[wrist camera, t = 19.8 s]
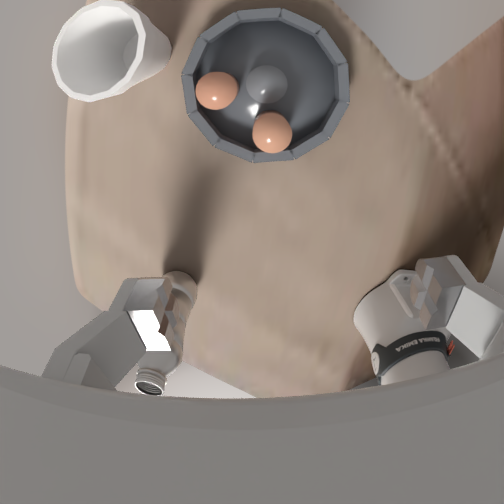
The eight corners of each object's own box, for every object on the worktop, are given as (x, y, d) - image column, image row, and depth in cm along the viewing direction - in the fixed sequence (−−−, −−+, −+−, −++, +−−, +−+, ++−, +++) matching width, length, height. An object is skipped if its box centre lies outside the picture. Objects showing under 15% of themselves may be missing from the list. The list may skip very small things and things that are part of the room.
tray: (336, 13, 25) (342, 9, 22) (343, 151, 35) (350, 158, 32) (181, 24, 26) (174, 21, 24) (200, 161, 36) (196, 168, 34)
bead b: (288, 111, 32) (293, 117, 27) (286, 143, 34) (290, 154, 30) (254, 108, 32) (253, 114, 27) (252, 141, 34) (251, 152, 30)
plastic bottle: (165, 296, 49) (134, 399, 33) (157, 264, 46) (114, 370, 29) (202, 297, 49) (181, 404, 33) (196, 264, 45) (167, 376, 29)
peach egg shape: (202, 74, 29) (193, 74, 25) (237, 70, 29) (234, 69, 25) (206, 106, 31) (198, 111, 27) (240, 102, 31) (237, 107, 27)
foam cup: (118, 20, 25) (59, 8, 14) (189, 18, 26) (153, -7, 15) (110, 89, 30) (50, 104, 20) (178, 90, 31) (137, 102, 20)
